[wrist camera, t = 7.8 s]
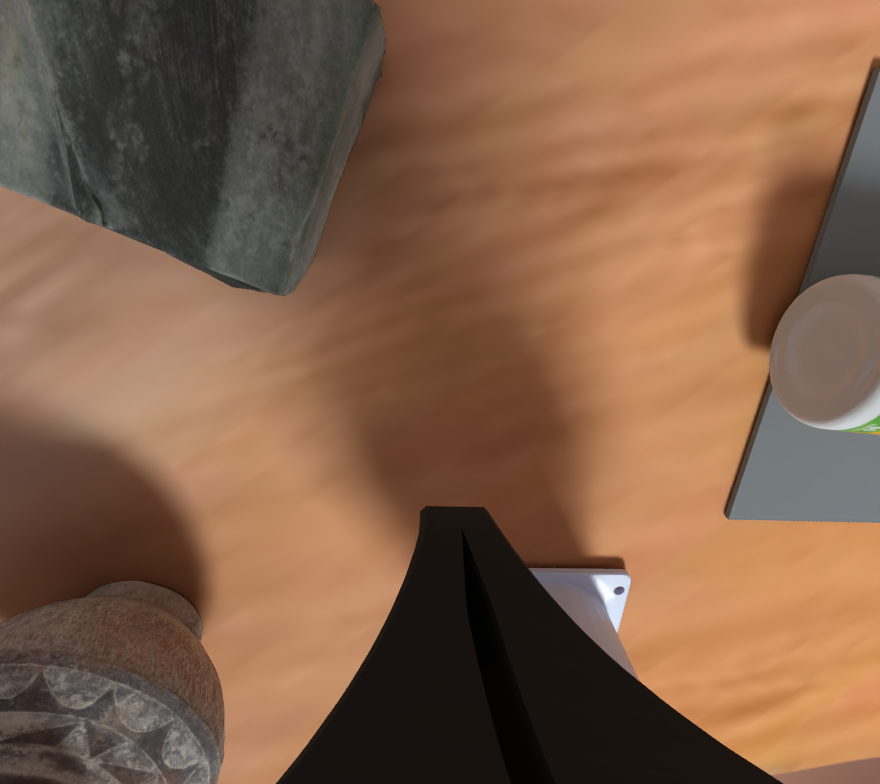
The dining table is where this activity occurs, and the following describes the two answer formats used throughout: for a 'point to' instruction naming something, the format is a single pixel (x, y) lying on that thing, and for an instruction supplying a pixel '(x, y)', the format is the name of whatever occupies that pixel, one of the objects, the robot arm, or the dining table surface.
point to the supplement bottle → (831, 355)
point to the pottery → (109, 691)
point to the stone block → (190, 121)
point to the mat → (775, 432)
